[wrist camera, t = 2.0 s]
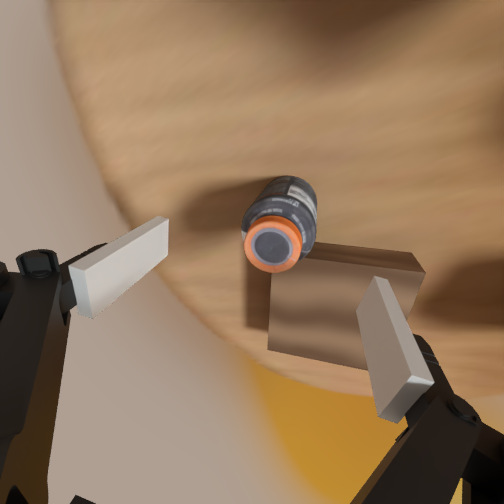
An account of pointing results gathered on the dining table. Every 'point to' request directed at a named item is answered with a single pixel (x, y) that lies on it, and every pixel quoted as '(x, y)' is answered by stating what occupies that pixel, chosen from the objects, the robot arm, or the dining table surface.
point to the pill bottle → (280, 224)
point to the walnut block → (334, 300)
